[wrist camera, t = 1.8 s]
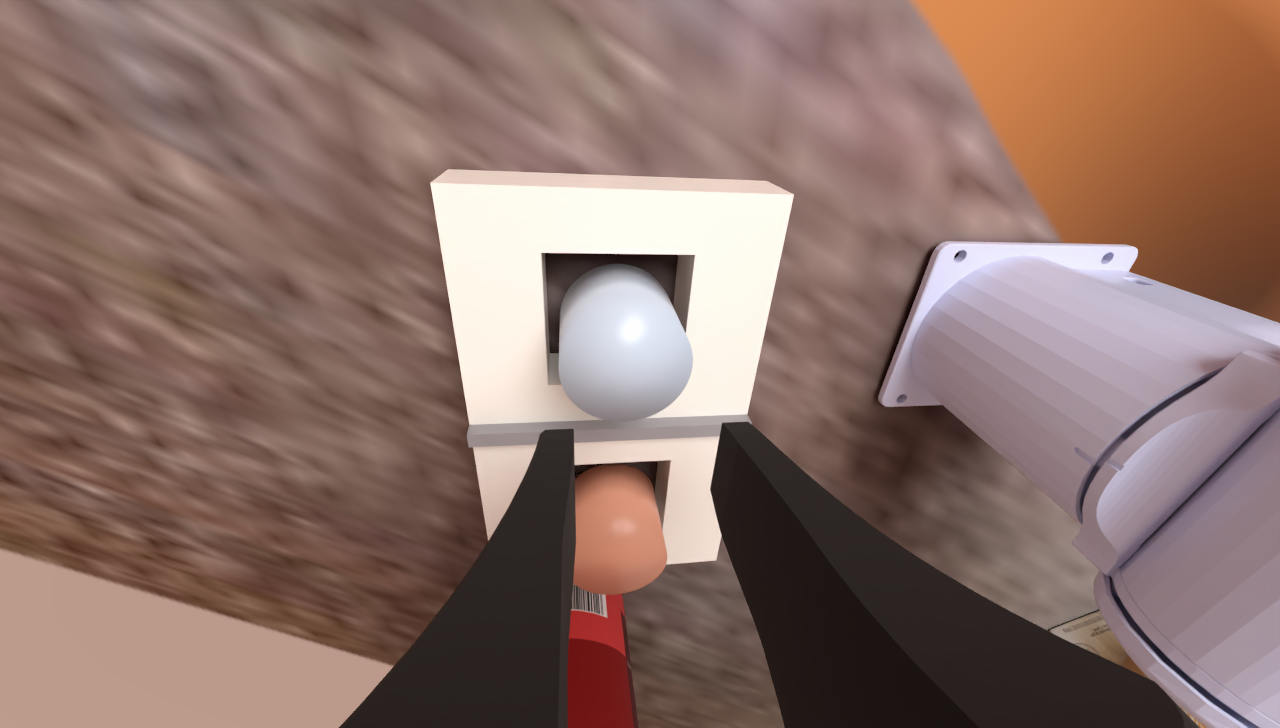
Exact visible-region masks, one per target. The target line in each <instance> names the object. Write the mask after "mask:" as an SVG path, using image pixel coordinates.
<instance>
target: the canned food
mask: <svg viewBox="0 0 1280 728" xmlns="http://www.w3.org/2000/svg"><path fill="white" fill-rule="evenodd" d="M567 680H568V728H638V721H637V713H636V704H635V696H634V688H633V679H632V671H631V663H630V655H629V646H628V638H627V630H626V621H625V613H624V605H623V597H622V594H615V595H603V594H596V593H591V592H588V591H585V590H583V589H581V588H579V587H578V586H576V585H575V584H574V583H573V591H572V604H571V618H570V631H569V645H568V670H567Z"/></svg>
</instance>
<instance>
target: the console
mask: <svg viewBox="0 0 1280 728" xmlns="http://www.w3.org/2000/svg"><path fill="white" fill-rule="evenodd" d="M431 190H432V196H433V202H434V208H435V214H436V221H437V227H438V233H439V239H440V245H441V252H442V258H443V264H444V270H445V276H446V283H447V289H448V295H449V301H450V307H451V313H452V320H453V326H454V332H455V338H456V344H457V351H458V357H459V363H460V369H461V375H462V382H463V388H464V394H465V400H466V406H467V413H468V419H469V428H468V432H467V440H468V446H469V447H473V450H474V456H475V462H476V468H477V475H478V481H479V487H480V493H481V499H482V506H483V512H484V518H485V524H486V530H487V536H488V541H489V539H490V538H491V536H492V534H493V533H494V531H495V529H496V528H497V526H498V524H499V522H500V521H501V519H502V517H503V516H504V514H505V512H506V511H507V509H508V507H509V505H510V503H511V501H512V499H513V497H514V495H515V493H516V491H517V489H518V487H519V485H520V483H521V482H522V480H523V478H524V475H525V473H526V471H527V469H528V466H529V464H530V462H531V459H532V457H533V454H534V452H535V449H536V446H537V443H538V440H539V436H540V434H541V433H542V432H543V431H544V430H550V429H574V460H575V465H585V464H605V463H624V462H644V461H658V463H657V473H656V483H655V499H656V503H657V508H658V513H659V517H660V522H661V527H662V531H663V536H664V541H665V545H666V550H667V563H666V564H678V563H690V562H702V561H714V560H716V558H717V554H718V549H719V544H720V540H721V535H722V534H721V532H720V528H719V524H718V520H717V516H716V513H715V508H714V504H713V499H712V495H711V491H710V487H711V481H712V476H713V470H714V465H715V459H716V454H717V448H718V443H719V437H720V432H721V426H722V423H726V422H749V423H750V424H752V422H751V421H750V419H749V417H748V415H747V413H748V408H749V403H750V399H751V394H752V389H753V385H754V380H755V375H756V370H757V366H758V361H759V356H760V352H761V347H762V342H763V338H764V333H765V328H766V323H767V319H768V314H769V309H770V305H771V300H772V295H773V291H774V286H775V281H776V276H777V272H778V267H779V262H780V258H781V253H782V248H783V244H784V239H785V234H786V229H787V225H788V220H789V215H790V211H791V206H792V201H793V197H794V195H793V194H792V193H790V192H788V191H786V190H784V189H782V188H780V187H778V186H776V185H774V184H772V183H770V182H768V181H754V180H727V179H700V178H673V177H645V176H618V175H591V174H563V173H536V172H509V171H481V170H454V169H448V170H447V171H445V172H444V173H443V174H441V175H440V176H439V177H437V178H436V179H435V180H434V181H432V182H431ZM545 253H591V254H670V255H678V262H677V272H676V282H675V292H674V302H673V308H674V310H675V312H676V314H677V316H678V318H679V320H680V323H681V325H682V327H683V329H684V331H685V333H686V335H687V337H688V340H689V342H690V345H691V349H692V354H693V367H692V372H691V375H690V378H689V381H688V383H687V385H686V387H685V389H684V390H683V391H682V393H681V394H680V395H679V397H678V398H677V399H676V400H675V401H674V402H673V403H671V404H670V405H669V406H668V407H666V408H665V409H664V410H662V411H660V412H658V413H656V414H654V415H652V416H650V417H647V418H643V419H640V420H635V421H627V422H615V421H608V420H603V419H599V418H597V417H594V416H592V415H590V414H588V413H586V412H584V411H583V410H581V409H580V408H578V407H577V406H576V405H575V404H574V403H573V402H572V401H571V400H570V399H569V397H568V396H567V394H566V393H565V391H564V389H563V387H562V385H561V381H560V377H559V353H550V345H549V324H548V303H547V282H546V261H545Z"/></svg>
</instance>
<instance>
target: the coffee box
mask: <svg viewBox="0 0 1280 728" xmlns="http://www.w3.org/2000/svg"><path fill="white" fill-rule="evenodd" d="M1050 632H1051V633H1053V634H1055V635H1057V636H1059V637H1061V638H1063V639H1065V640H1067V641H1069V642H1071V643H1073V644H1075V645H1078V646H1080V647H1082V648H1084V649H1086V650H1088V651H1090V652H1093V653H1095V654H1097V655H1099V656H1101V657H1103V658H1105V659H1108V660H1110V661H1112V662H1114V663H1116V664H1118V665H1120V666H1123V667H1125V668H1127V669H1129V670H1131V671H1133V672H1135V673H1138V674H1140V675H1142V676H1144V677H1146V678H1148V677H1147V676H1146V675H1145V674H1144V673H1143V671H1142V670H1141V669H1140V668H1139V667H1138V666H1137V665H1136V664H1135V662H1134V661H1133V660H1132V659H1131V658H1130V656H1129V655H1128V654H1127V653H1126V651H1125V650H1124V649H1123V647H1122V646H1121V644H1120V643H1119V641H1118V640H1117V638H1116V637H1115V636H1114V634H1113V633H1112V631H1111V629H1110V628H1109V626H1108V625H1107V623H1106V622H1105V620H1104V618H1103V616H1102V614H1101V612H1100V610H1099V611H1096V612H1094V613H1091V614H1088V615H1086V616H1083V617H1081V618H1078V619H1076V620H1073V621H1070V622H1068V623H1065V624H1063V625H1060V626H1057V627H1055V628H1053V629H1050ZM1148 679H1149V678H1148ZM1179 707H1180V706H1179ZM1180 708H1181V707H1180ZM1181 709H1182V708H1181ZM1182 710H1183V709H1182ZM1183 711H1184V712H1185V713H1186V714H1187V715H1188V716H1189V717H1190V718H1191V719H1192V720H1193V721H1194V722H1195V723H1196V724H1197V725H1198V726H1199V727H1200V728H1207V727H1205V726H1204V725H1203V724H1201V723H1200V722H1199V721H1197V720H1196V719H1195V718H1193V717H1192V716H1191V715H1190V714H1188V713H1187V712H1186V711H1185V710H1183Z"/></svg>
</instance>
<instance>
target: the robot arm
mask: <svg viewBox="0 0 1280 728" xmlns="http://www.w3.org/2000/svg"><path fill="white" fill-rule="evenodd" d="M959 251H960V252H959ZM957 252H959V255H958V256H957V257H956V258H955V259H954V256H955V255H956V253H957ZM1137 255H1138V250H1137V248H1135V247H1132V246H1128V245H1117V244H1063V243H1008V242H954V241H948V242H943V243H941V244H939V245H938V246H937V247H936V248H935V250H934V251H933V253H932V256H931V258H930V261H929V264H928V266H927V269H926V271H925V274H924V277H923V279H922V282H921V285H920V287H919V290H918V293H917V295H916V298H915V300H914V303H913V306H912V308H911V311H910V314H909V316H908V319H907V322H906V324H905V327H904V329H903V332H902V335H901V337H900V340H899V343H898V345H897V348H896V351H895V353H894V356H893V358H892V361H891V364H890V366H889V369H888V372H887V374H886V377H885V380H884V382H883V385H882V388H881V390H880V393H879V396H878V400H879V402H880V403H881V404H882V405H884V406H885V407H903V406H930V405H943V406H944V407H945V408H947V409H948V410H949V411H950V412H951V413H952V414H953V415H955V416H956V417H957V418H958V419H959V420H960V421H962V422H963V423H964V424H965V425H966V426H967V427H968V428H970V429H971V430H972V431H973V432H974V433H975V434H977V435H978V436H979V437H980V438H981V439H982V440H984V441H985V442H986V443H987V444H988V445H989V446H990V447H992V448H993V449H994V450H995V451H996V452H997V453H999V454H1000V455H1001V456H1002V457H1003V458H1004V459H1006V460H1007V461H1008V462H1009V463H1010V464H1011V465H1012V466H1014V467H1015V468H1016V469H1017V470H1018V471H1019V472H1021V473H1022V474H1023V475H1024V476H1025V477H1026V478H1027V479H1029V480H1030V481H1031V482H1032V483H1033V484H1034V485H1036V486H1037V487H1038V488H1039V489H1040V490H1041V491H1043V492H1044V493H1045V494H1046V495H1047V496H1048V497H1049V498H1051V499H1052V500H1053V501H1054V502H1055V503H1056V504H1058V505H1059V506H1060V507H1061V508H1062V509H1063V510H1065V511H1066V512H1067V513H1068V514H1069V515H1070V516H1071V517H1073V518H1074V519H1075V520H1076V521H1077V522H1078V523H1080V524H1081V525H1082V527H1081V530H1080V532H1079V533H1078V535H1077V536H1076V538H1075V539H1074V540H1073V542H1072V545H1073V546H1074V547H1075V548H1077V549H1078V550H1079V551H1080V552H1081V553H1082V554H1083V555H1084V556H1085V557H1086V558H1087V559H1089V560H1090V561H1091V562H1092V563H1093V564H1094V565H1095V566H1096V567H1097V568H1098V569H1100V571H1099V572H1098V574H1097V576H1096V578H1095V580H1094V595H1095V599H1096V603H1097V605H1098V608H1099V610H1100V612H1101V614H1102V616H1103V618H1104V620H1105V622H1106V623H1107V625H1108V626H1109V628H1110V629H1111V631H1112V633H1113V634H1114V636H1115V637H1116V638H1117V640H1118V641H1119V643H1120V644H1121V646H1122V647H1123V649H1124V650H1125V651H1126V653H1127V654H1128V655H1129V656H1130V658H1131V659H1132V660H1133V661H1134V662H1135V664H1136V665H1137V666H1138V667H1139V668H1140V669H1141V670H1142V671H1143V673H1144V674H1145V675H1146V676H1147V677H1148V678H1149V679H1148V678H1146V677H1144V676H1142V675H1140V674H1138V673H1135V672H1133V671H1131V670H1129V669H1127V668H1125V667H1123V666H1120V665H1118V664H1116V663H1114V662H1112V661H1110V660H1108V659H1105V658H1103V657H1101V656H1099V655H1097V654H1095V653H1093V652H1090V651H1088V650H1086V649H1084V648H1082V647H1080V646H1078V645H1075V644H1073V643H1071V642H1069V641H1067V640H1065V639H1063V638H1061V637H1059V636H1057V635H1055V634H1053V633H1051V632H1049V631H1047V630H1045V629H1043V628H1041V627H1039V626H1037V625H1035V624H1033V623H1031V622H1030V621H1028V620H1026V619H1024V618H1022V617H1020V616H1018V615H1016V614H1014V613H1012V612H1010V611H1008V610H1007V609H1005V608H1003V607H1001V606H999V605H997V604H996V603H994V602H992V601H990V600H988V599H987V598H985V597H983V596H981V595H979V594H978V593H976V592H974V591H972V590H971V589H969V588H967V587H966V586H964V585H962V584H961V583H959V582H957V581H956V580H954V579H952V578H951V577H949V576H947V575H946V574H944V573H942V572H940V571H939V570H937V569H935V568H934V567H932V566H931V565H929V564H928V563H926V562H924V561H923V560H921V559H920V558H918V557H917V556H915V555H913V554H912V553H910V552H909V551H908V550H906V549H905V548H903V547H902V546H900V545H899V544H897V543H896V542H894V541H893V540H891V539H890V538H888V537H887V536H886V535H884V534H883V533H881V532H880V531H878V530H877V529H876V528H874V527H873V526H871V525H870V524H869V523H867V522H866V521H865V520H863V519H862V518H861V517H859V516H858V515H857V514H855V513H854V512H853V511H852V510H850V509H849V508H848V507H846V506H845V505H844V504H843V503H841V502H840V501H839V500H837V499H836V498H835V497H834V496H833V495H831V494H830V493H829V492H828V491H826V490H825V489H824V488H823V487H822V486H820V485H819V484H818V483H817V482H816V481H814V480H813V479H812V478H811V477H810V476H809V475H808V474H806V473H805V472H804V471H803V470H802V469H801V468H799V467H798V466H797V465H796V464H795V463H794V462H793V461H792V460H790V459H789V458H788V457H787V456H786V455H785V454H784V453H783V452H782V451H780V450H779V449H778V448H777V447H776V446H775V445H774V444H773V443H772V442H771V441H769V440H768V439H767V438H766V437H765V436H764V435H763V434H762V433H761V432H760V431H758V430H757V429H756V428H755V427H754V426H753V425H752V424H750V423H749V422H726V423H722V426H721V432H720V437H719V443H718V448H717V454H716V459H715V465H714V470H713V476H712V481H711V487H710V491H711V495H712V499H713V504H714V508H715V513H716V516H717V520H718V524H719V528H720V532H721V534H722V537H723V540H724V543H725V545H726V548H727V551H728V554H729V556H730V559H731V562H732V564H733V567H734V570H735V572H736V575H737V577H738V580H739V583H740V585H741V588H742V591H743V593H744V596H745V598H746V601H747V604H748V606H749V609H750V612H751V614H752V617H753V620H754V622H755V625H756V628H757V631H758V634H759V637H760V639H761V642H762V645H763V648H764V652H765V655H766V659H767V663H768V666H769V670H770V673H771V677H772V681H773V684H774V688H775V692H776V695H777V699H778V703H779V706H780V710H781V714H782V718H783V722H784V726H785V728H1200V727H1199V726H1198V725H1197V724H1196V723H1195V722H1194V721H1193V720H1192V719H1191V718H1190V717H1189V716H1188V715H1187V714H1186V713H1185V712H1184V711H1183V710H1185V711H1186V712H1187V713H1188V714H1190V715H1191V716H1192V717H1193V718H1195V719H1196V720H1197V721H1199V722H1200V723H1201V724H1203V725H1204V726H1205V727H1207V728H1280V323H1277V322H1274V321H1271V320H1268V319H1265V318H1262V317H1260V316H1257V315H1254V314H1251V313H1248V312H1245V311H1242V310H1239V309H1236V308H1233V307H1230V306H1227V305H1224V304H1222V303H1218V302H1216V301H1213V300H1210V299H1207V298H1204V297H1201V296H1198V295H1195V294H1192V293H1189V292H1186V291H1183V290H1181V289H1178V288H1175V287H1172V286H1169V285H1166V284H1163V283H1160V282H1157V281H1154V280H1151V279H1148V278H1145V277H1143V276H1139V275H1137V274H1134V273H1130V272H1128V271H1129V269H1130V268H1131V266H1132V264H1133V263H1134V261H1135V259H1136V258H1137ZM900 395H901V396H900ZM898 396H900V397H898ZM575 550H576V511H575V460H574V429H550V430H544V431H543V432H542V433H541V434H540V436H539V440H538V443H537V446H536V449H535V452H534V454H533V457H532V459H531V462H530V464H529V466H528V469H527V471H526V473H525V475H524V478H523V480H522V482H521V483H520V485H519V487H518V489H517V491H516V493H515V495H514V497H513V499H512V501H511V503H510V505H509V507H508V509H507V511H506V512H505V514H504V516H503V517H502V519H501V521H500V522H499V524H498V526H497V528H496V529H495V531H494V533H493V534H492V536H491V538H490V539H489V541H488V543H487V544H486V546H485V547H484V549H483V551H482V552H481V554H480V555H479V557H478V558H477V560H476V561H475V563H474V564H473V566H472V567H471V569H470V570H469V572H468V573H467V574H466V576H465V577H464V579H463V580H462V581H461V583H460V584H459V586H458V587H457V589H456V590H455V591H454V593H453V594H452V595H451V597H450V598H449V599H448V601H447V602H446V603H445V604H444V606H443V607H442V608H441V610H440V611H439V612H438V614H437V615H436V616H435V618H434V619H433V620H432V621H431V623H430V624H429V625H428V627H427V628H426V629H425V630H424V632H423V633H422V634H421V635H420V636H419V638H418V639H417V640H416V641H415V643H414V644H413V645H412V646H411V647H410V649H409V650H408V651H407V652H406V653H405V654H404V656H403V657H402V658H401V659H400V660H399V661H398V662H397V664H396V665H395V666H394V667H393V668H392V669H391V671H390V672H389V673H388V674H387V675H386V676H385V677H384V678H383V680H382V681H381V682H380V683H379V684H378V685H377V686H376V687H375V689H374V690H373V691H372V692H371V693H370V695H368V697H367V698H366V699H365V700H364V701H363V702H362V704H361V705H360V706H359V707H358V708H357V709H356V710H355V711H354V712H353V713H352V714H351V715H350V716H349V717H348V719H347V720H346V721H345V722H344V723H343V724H342V725H341V726H340V727H339V728H568V680H567V670H568V645H569V631H570V618H571V604H572V591H573V577H574V563H575ZM1179 706H1180V707H1181V708H1182V709H1183V710H1182V709H1181V708H1180V707H1179Z"/></svg>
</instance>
